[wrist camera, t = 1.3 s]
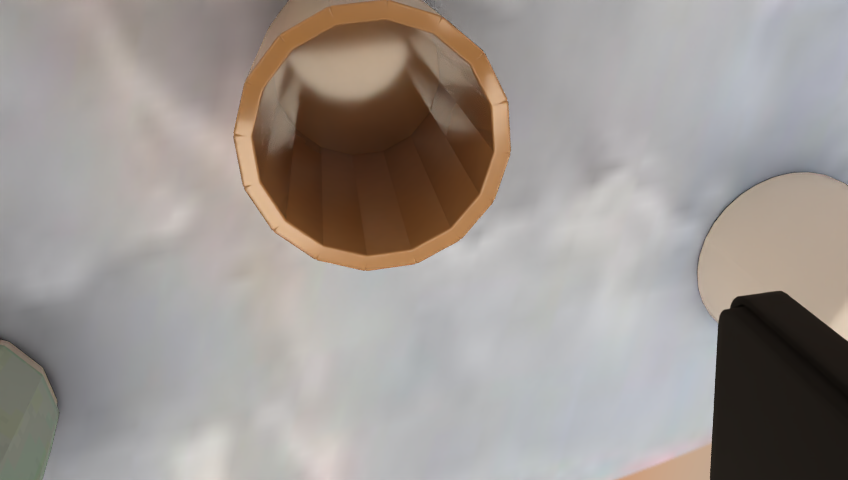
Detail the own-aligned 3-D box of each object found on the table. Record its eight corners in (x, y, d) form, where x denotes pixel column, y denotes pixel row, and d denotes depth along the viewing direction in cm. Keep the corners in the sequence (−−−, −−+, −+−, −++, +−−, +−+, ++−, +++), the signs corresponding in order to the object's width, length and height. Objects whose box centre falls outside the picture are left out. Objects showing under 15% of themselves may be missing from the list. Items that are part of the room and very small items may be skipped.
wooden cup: (246, -15, 27) (209, 19, 18) (440, -37, 28) (502, -14, 18) (278, 171, 30) (261, 286, 20) (455, 149, 30) (517, 250, 21)
